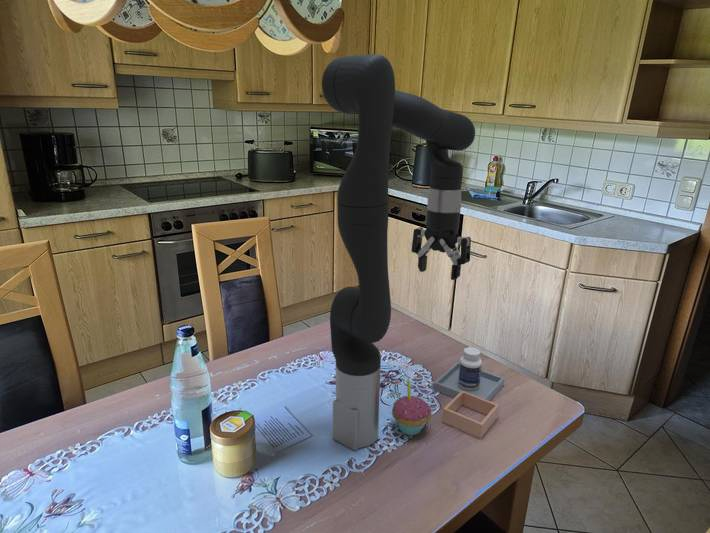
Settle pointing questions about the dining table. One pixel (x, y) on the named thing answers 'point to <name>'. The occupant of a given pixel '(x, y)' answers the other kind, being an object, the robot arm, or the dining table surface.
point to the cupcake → (411, 413)
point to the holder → (465, 422)
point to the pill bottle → (470, 369)
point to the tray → (451, 388)
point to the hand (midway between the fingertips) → (438, 275)
